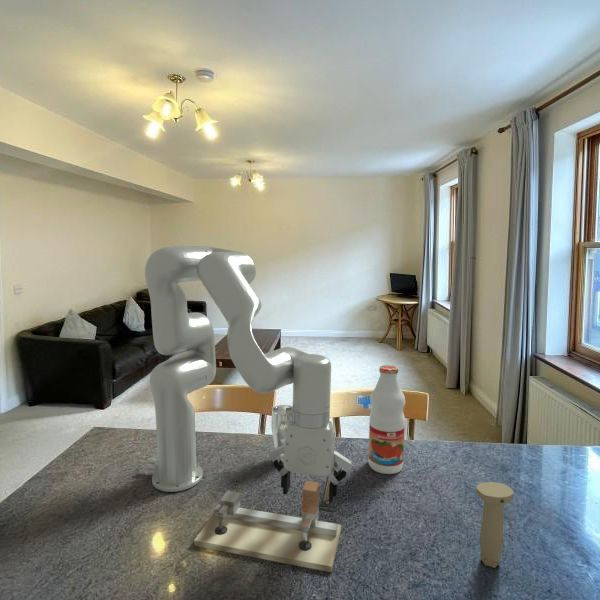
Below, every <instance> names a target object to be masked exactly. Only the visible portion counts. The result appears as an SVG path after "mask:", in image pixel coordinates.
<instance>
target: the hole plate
mask: <svg viewBox="0 0 600 600" xmlns="http://www.w3.org/2000/svg"><path fill="white" fill-rule="evenodd" d="M240 506H241V492H237V491H231V490H227V491H226V492H225V493H224V495H223V496H222V498H221V499H220V503H217V505H216V506H215V507H214V509H213V513H212V515H211V516H210V518H209V519H208V520H207V521H206V523H205V525H204V526H203V528H201V530H200V532H199V533H198V534H197V536H196V537H195V538H194V543H193V544H194V546H195V547H200V548H205V549H210V550H215V551H219V552H224V553H231V554H236V555H240V556H241V555H242V556H246V557H252V558H255V559H260V560H261V559H262V560H267V561H272V562H275V563H276V562H277V563H281V564H286V565H292V566H297V567H301V568H307V569H311V570H317V571H322V572H326V573H327V572H328V573H333V568H334V564H335V559H336V554H337V550H338V545H339V542H340V541H339V540H340V536H341V532H342V524H338V523H333V522H328V521H322V520H318V522H317V525H316V528H309V531H308V532H307V545H304V544H303V532H304V531H302V517H299V516H292V515H285V514H280V513H275V512H274V513H273V512H268V511H261V510H257V509H256V510H255V509H249V508H245V507H243V508H242V507H240Z"/></svg>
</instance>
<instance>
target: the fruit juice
mask: <svg viewBox="0 0 600 600" xmlns="http://www.w3.org/2000/svg"><path fill="white" fill-rule="evenodd" d="M378 372H379V374H380V375H379V377H378V380H377V382H376V385H375V387H374V389H373V391H372V392H371V394H370V403H371V410H370V414H369V423H368V424H369V426H368V429H369V430H368V460H367V461H368V465H369V467H370V469H372V470H373V471H374V472H376V473H380V474H384V475H393V474H398V473H399V472H401V471H402V470H403V467H404V450H405V429H406V428H405V425H406V418H405V414H404V409H405V404H406V397H405V394H404V392H403V391H402V388H401V385H400V382H399V379H398V374H399V367H397V366H396V365H390V364H383V365H381V366H379V370H378Z"/></svg>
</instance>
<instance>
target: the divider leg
mask: <svg viewBox="0 0 600 600" xmlns="http://www.w3.org/2000/svg"><path fill="white" fill-rule="evenodd" d="M319 505H320V482H317V481H309V480H306V481H305V482H304V485H303V488H302V509H301V510H302V512H301V518H302V531H304V532H303V544H304V545H307V532H308V531H309V528H316V525H317V522H318V521H319V519H320V517H319V516H320V510H319Z"/></svg>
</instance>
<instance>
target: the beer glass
mask: <svg viewBox="0 0 600 600" xmlns="http://www.w3.org/2000/svg"><path fill="white" fill-rule="evenodd" d="M292 406H293V405H289V404H280V405H276V406H273V407H272V408H271V419H270V422H271V423H270V424H271V434H272V440H273V445H274V446H273V447H274V448H277V447H280V446H283V445H285V437H286V431H287V426H288V422H289V421H290V420H291V418H292V417H291V415H288V414H286V408H290V407H291V408H292ZM278 456H279V458H280V459H281V460H282V462H283V458H284V453H283V454H280V455H278ZM287 461H288V460H287Z"/></svg>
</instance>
